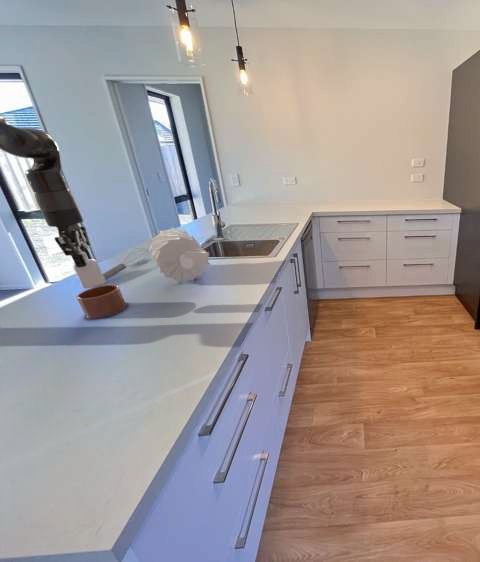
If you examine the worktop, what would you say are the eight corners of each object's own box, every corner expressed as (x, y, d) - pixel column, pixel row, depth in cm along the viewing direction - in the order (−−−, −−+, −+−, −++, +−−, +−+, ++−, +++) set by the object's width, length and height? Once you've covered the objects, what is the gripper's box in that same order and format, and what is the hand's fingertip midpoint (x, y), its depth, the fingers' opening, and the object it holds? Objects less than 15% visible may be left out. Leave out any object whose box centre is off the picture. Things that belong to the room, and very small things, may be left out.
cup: (80, 321, 92) (70, 301, 89) (93, 307, 101) (84, 288, 98) (121, 314, 96) (112, 294, 93) (129, 300, 104) (122, 282, 101)
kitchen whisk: (84, 288, 115) (76, 273, 112) (144, 258, 146) (139, 245, 143) (99, 287, 115) (93, 272, 112) (156, 257, 146) (152, 245, 143)
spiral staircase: (182, 294, 116) (169, 273, 133) (221, 266, 123) (204, 249, 139) (144, 260, 104) (135, 242, 121) (189, 231, 110) (174, 217, 127)
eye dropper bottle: (87, 284, 95) (70, 248, 90) (108, 281, 97) (93, 245, 92) (80, 289, 92) (62, 252, 87) (102, 286, 93) (86, 249, 88)
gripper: (53, 204, 89) (79, 259, 96) (27, 213, 77) (58, 274, 84) (85, 202, 92) (107, 255, 99) (64, 210, 80) (91, 269, 87)
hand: (84, 263), depth 91 cm, fingers closed on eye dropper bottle, 4 cm apart
